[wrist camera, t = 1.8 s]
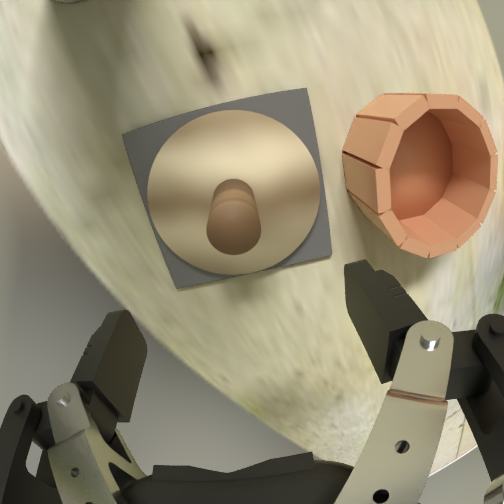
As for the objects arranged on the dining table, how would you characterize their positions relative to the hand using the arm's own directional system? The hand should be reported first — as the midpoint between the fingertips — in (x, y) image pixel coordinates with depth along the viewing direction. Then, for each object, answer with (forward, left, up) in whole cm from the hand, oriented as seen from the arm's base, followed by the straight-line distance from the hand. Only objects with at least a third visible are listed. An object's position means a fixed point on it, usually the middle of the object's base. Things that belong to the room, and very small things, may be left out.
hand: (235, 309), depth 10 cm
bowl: (0, +15, -14) cm, 20 cm away
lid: (0, 0, -13) cm, 13 cm away
